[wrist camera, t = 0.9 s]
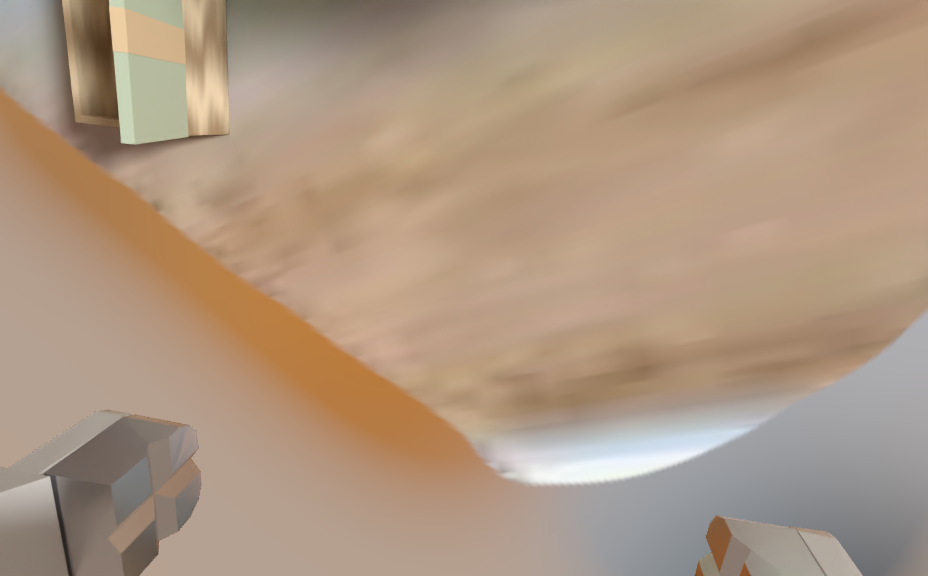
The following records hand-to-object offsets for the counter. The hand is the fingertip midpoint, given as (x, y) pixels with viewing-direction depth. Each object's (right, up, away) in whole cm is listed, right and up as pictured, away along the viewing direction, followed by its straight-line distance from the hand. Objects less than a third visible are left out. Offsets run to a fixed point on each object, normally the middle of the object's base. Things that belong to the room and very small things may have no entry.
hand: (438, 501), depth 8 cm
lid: (-21, +20, +27) cm, 39 cm away
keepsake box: (-25, +24, +38) cm, 52 cm away
